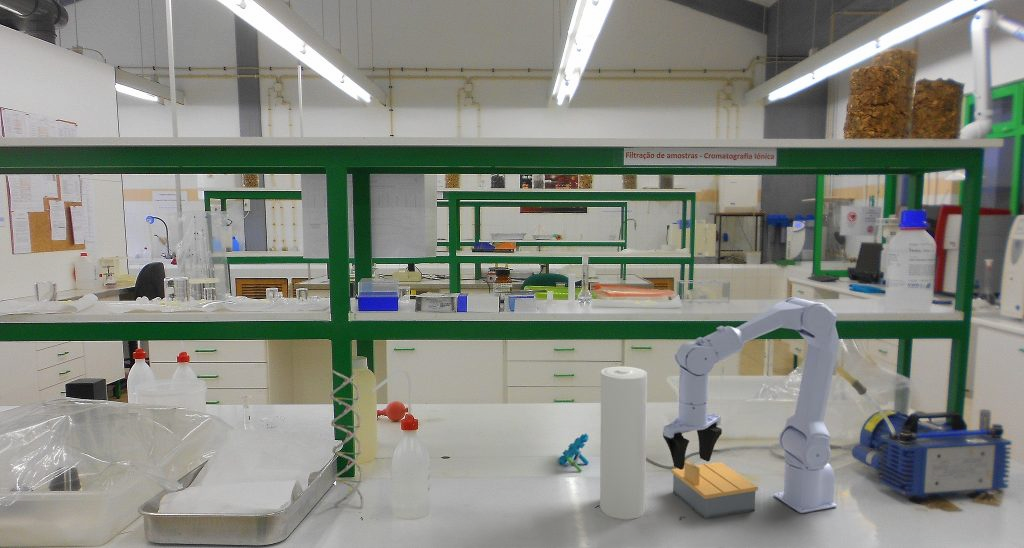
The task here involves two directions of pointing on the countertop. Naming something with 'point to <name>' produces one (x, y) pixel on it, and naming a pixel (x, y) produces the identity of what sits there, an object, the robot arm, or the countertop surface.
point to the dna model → (355, 488)
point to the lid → (713, 480)
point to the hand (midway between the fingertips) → (691, 463)
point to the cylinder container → (623, 442)
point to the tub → (714, 501)
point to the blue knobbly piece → (574, 452)
